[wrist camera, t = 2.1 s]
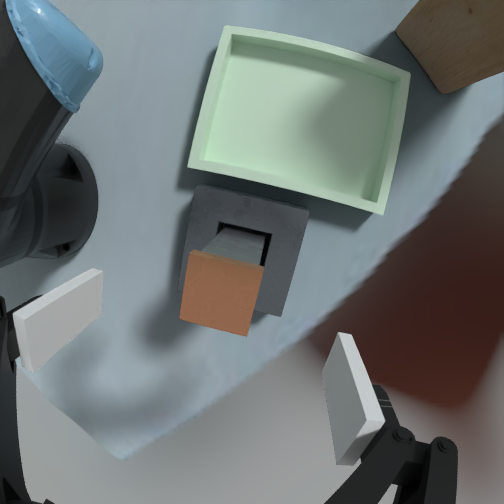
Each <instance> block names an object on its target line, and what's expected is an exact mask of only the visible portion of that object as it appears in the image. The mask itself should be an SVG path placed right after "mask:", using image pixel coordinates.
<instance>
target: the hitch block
mask: <svg viewBox="0 0 504 504" xmlns="http://www.w3.org/2000/svg"><path fill="white" fill-rule="evenodd" d="M309 213H310V211H309V210H308V209H307V208H306V207H303V206H299V205H295V204H291V203H287V202H283V201H278V200H274V199H270V198H266V197H262V196H257V195H253V194H249V193H244V192H240V191H235V190H231V189H226V188H222V187H217V186H212V185H208V184H201V185H196V187H195V192H194V197H193V202H192V207H191V212H190V217H189V223H188V228H187V234H186V240H185V245H184V251H183V257H182V263H181V270H180V276H179V283H178V289H177V291H179V292H183V289H184V282H185V276H186V270H187V264H188V258H189V253H190V252H191V251H192V250H198V251H202V250H203V249H204V248H205V247H206V246H207V245H208V244H209V243H210V242H211V241H212V240H213V239H214V238H215V237H216V236H217V235H218V234H219V233H220V232H221V231H222V230H223V227H224V223H229V224H233V225H237V226H242V227H246V228H250V229H254V230H258V231H263V232H267V233H271V237H270V241H269V245H268V249H267V253H266V258H265V262H264V272H263V276H262V280H261V284H260V287H259V291H258V295H257V299H256V303H255V307H254V311H258V312H262V313H266V314H271V315H275V316H279V317H281V315H282V311H283V308H284V305H285V301H286V298H287V294H288V291H289V287H290V284H291V280H292V277H293V273H294V270H295V266H296V262H297V259H298V255H299V251H300V248H301V244H302V240H303V237H304V233H305V229H306V225H307V221H308V217H309Z"/></svg>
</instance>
